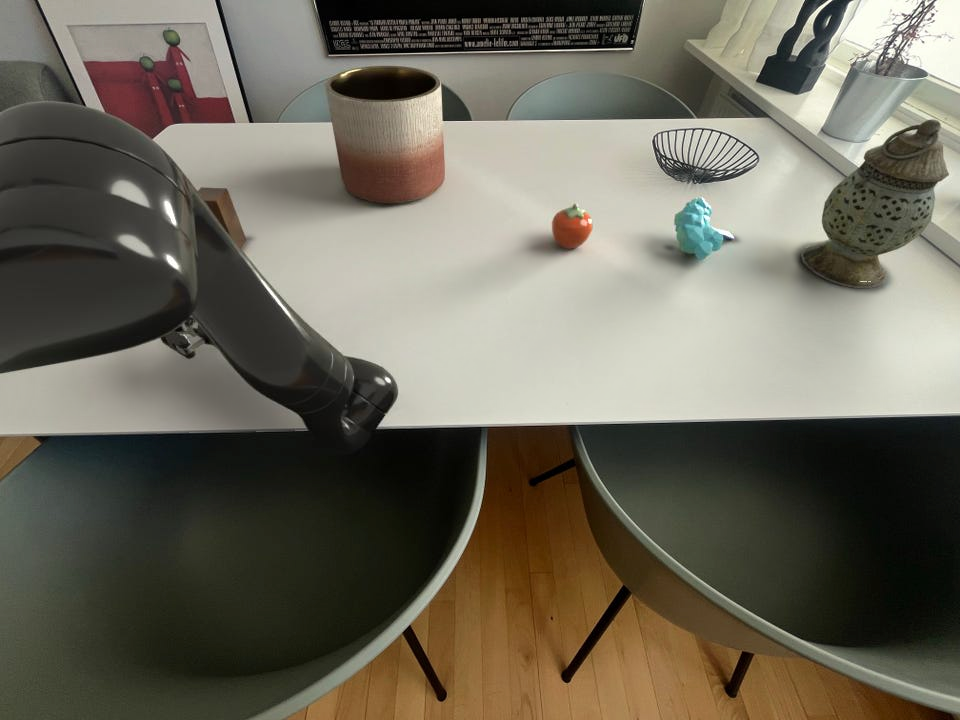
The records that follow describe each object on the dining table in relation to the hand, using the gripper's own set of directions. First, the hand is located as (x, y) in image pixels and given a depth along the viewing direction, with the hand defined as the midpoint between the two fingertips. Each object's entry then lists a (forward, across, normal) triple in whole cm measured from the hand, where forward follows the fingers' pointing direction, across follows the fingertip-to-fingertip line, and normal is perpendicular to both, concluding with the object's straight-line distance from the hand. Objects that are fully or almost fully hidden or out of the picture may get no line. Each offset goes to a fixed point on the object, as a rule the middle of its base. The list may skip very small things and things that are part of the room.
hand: (189, 292), depth 66 cm
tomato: (-31, -54, +7) cm, 63 cm away
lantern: (-73, -79, +7) cm, 108 cm away
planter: (+11, -52, +7) cm, 53 cm away
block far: (+18, -15, +7) cm, 24 cm away
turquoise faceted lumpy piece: (-50, -68, +7) cm, 85 cm away
